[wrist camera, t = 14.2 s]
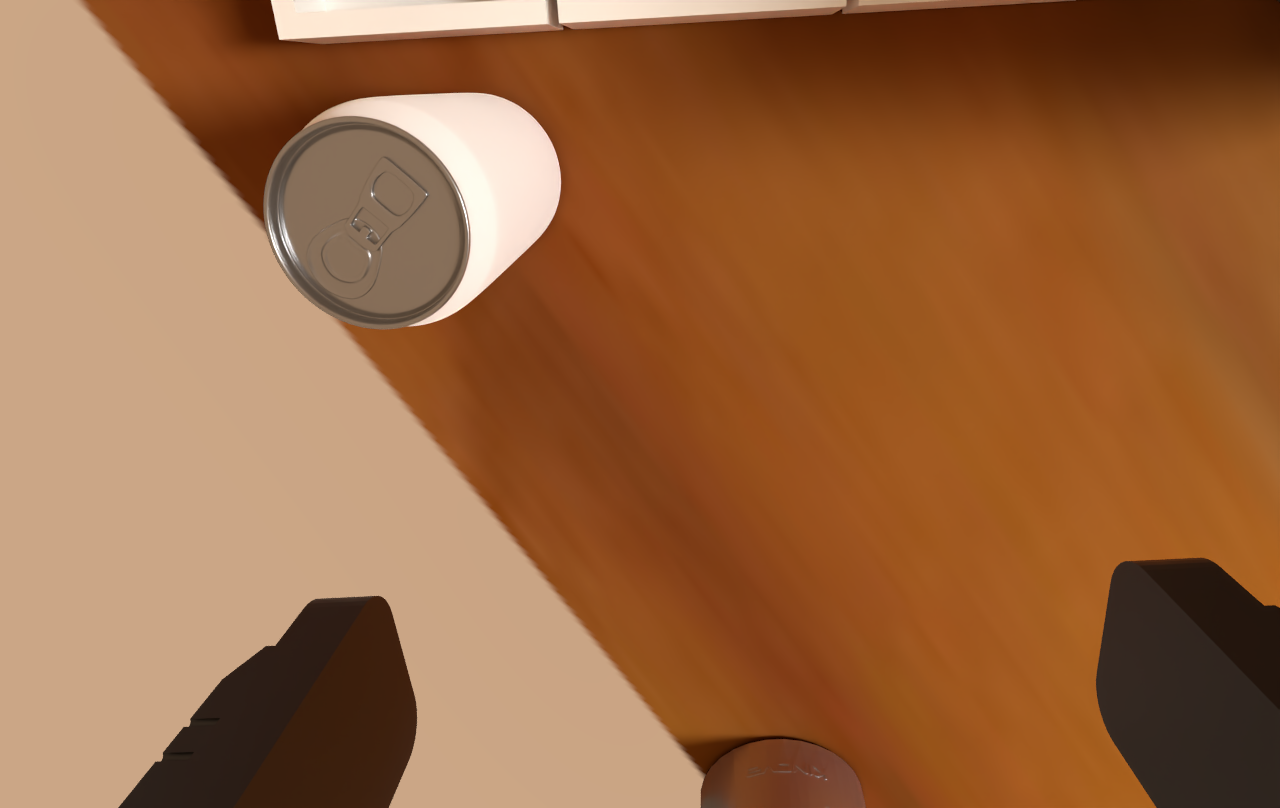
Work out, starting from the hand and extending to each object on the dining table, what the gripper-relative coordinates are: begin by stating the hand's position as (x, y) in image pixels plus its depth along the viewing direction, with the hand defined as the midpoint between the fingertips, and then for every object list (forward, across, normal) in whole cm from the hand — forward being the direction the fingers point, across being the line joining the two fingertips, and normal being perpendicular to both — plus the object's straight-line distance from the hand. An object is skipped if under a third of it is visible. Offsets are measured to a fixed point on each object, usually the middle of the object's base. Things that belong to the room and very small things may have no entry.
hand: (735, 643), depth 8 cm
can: (+25, +9, -4) cm, 27 cm away
